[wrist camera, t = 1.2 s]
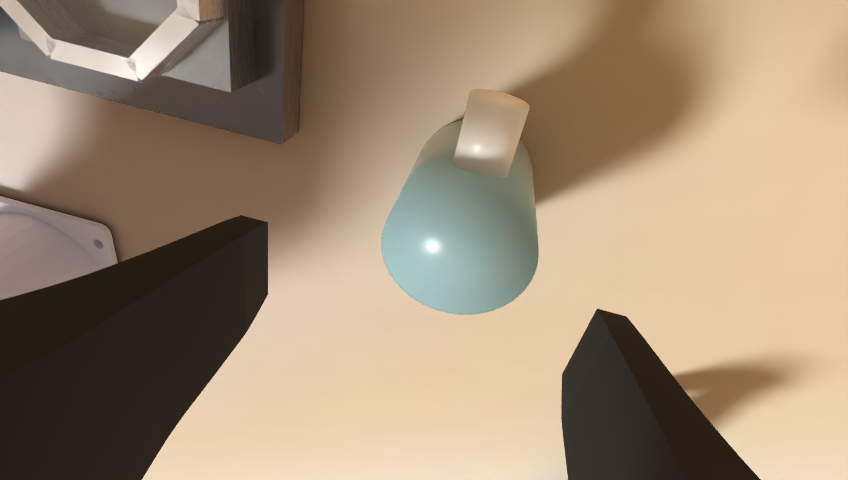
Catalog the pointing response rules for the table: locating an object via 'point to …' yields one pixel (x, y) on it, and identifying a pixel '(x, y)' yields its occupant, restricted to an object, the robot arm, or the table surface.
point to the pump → (467, 212)
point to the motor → (167, 56)
